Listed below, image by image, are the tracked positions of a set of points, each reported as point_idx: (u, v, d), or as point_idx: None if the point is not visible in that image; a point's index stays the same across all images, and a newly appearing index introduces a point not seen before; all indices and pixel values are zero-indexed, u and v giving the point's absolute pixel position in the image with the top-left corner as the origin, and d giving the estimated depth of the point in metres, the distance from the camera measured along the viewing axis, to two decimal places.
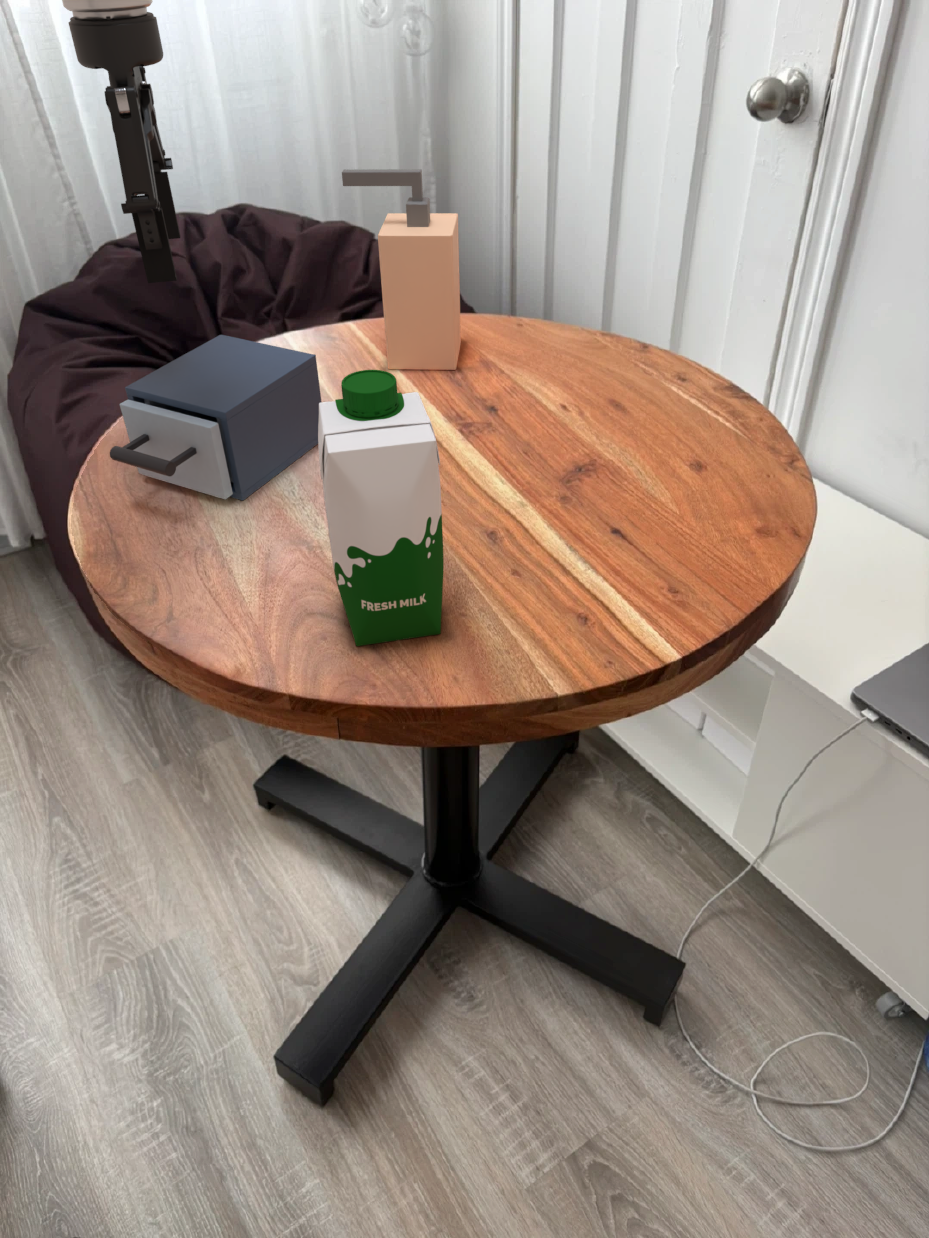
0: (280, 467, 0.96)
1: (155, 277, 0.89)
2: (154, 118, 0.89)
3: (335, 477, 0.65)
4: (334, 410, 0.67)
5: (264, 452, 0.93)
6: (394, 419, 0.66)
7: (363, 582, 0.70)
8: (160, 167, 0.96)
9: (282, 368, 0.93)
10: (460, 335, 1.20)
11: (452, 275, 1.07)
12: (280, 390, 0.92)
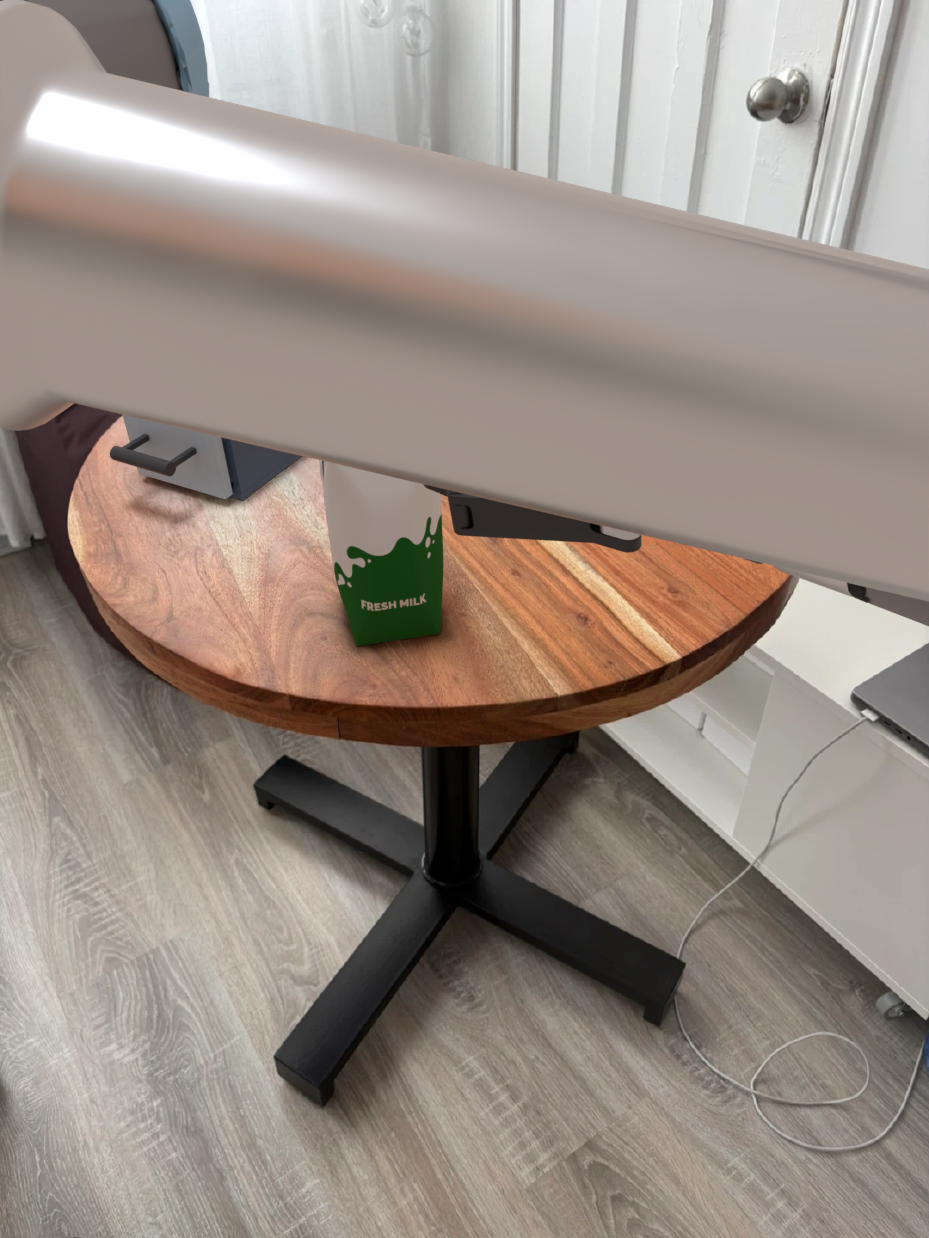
0: (280, 467, 0.96)
1: None
2: None
3: (335, 477, 0.65)
4: None
5: (264, 452, 0.93)
6: None
7: (363, 582, 0.70)
8: None
9: None
10: None
11: None
12: None
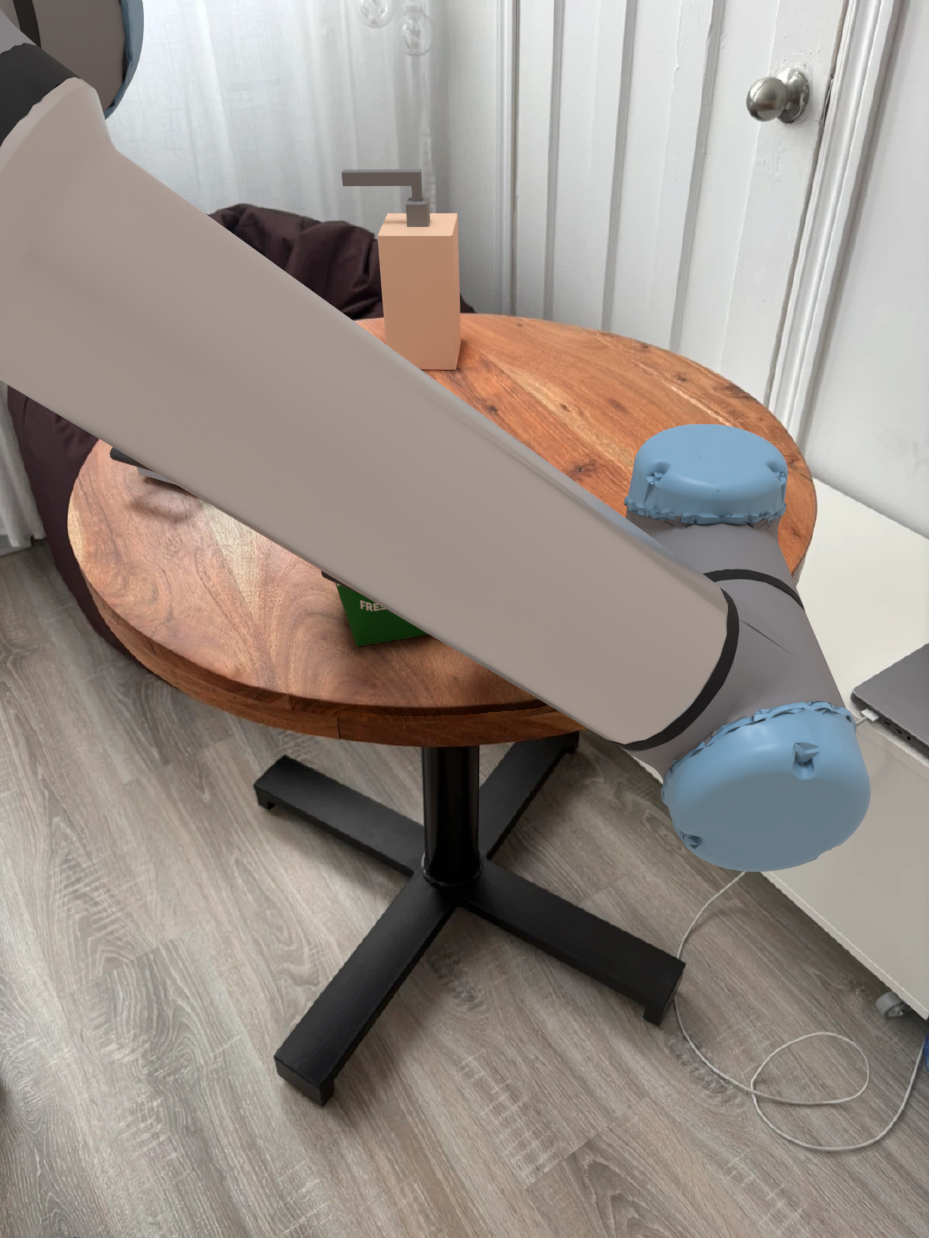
0: None
1: None
2: None
3: None
4: None
5: None
6: None
7: None
8: None
9: None
10: (460, 335, 1.20)
11: (452, 275, 1.07)
12: None
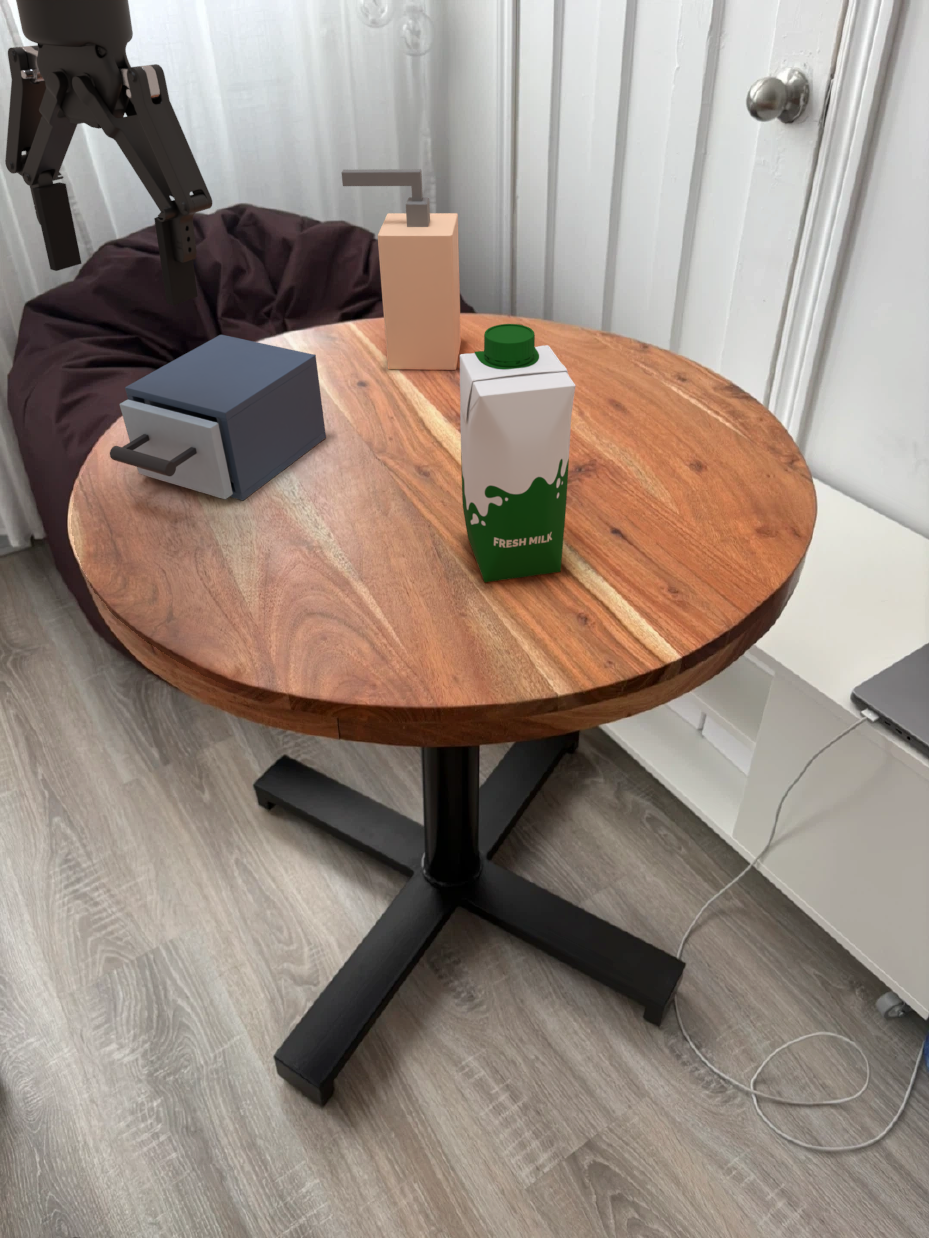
0: (280, 467, 0.96)
1: (180, 296, 0.74)
2: None
3: (482, 420, 0.71)
4: (475, 361, 0.74)
5: (264, 452, 0.93)
6: (533, 368, 0.72)
7: (498, 519, 0.76)
8: (52, 177, 0.77)
9: (282, 368, 0.93)
10: (460, 335, 1.20)
11: (452, 275, 1.07)
12: (280, 390, 0.92)
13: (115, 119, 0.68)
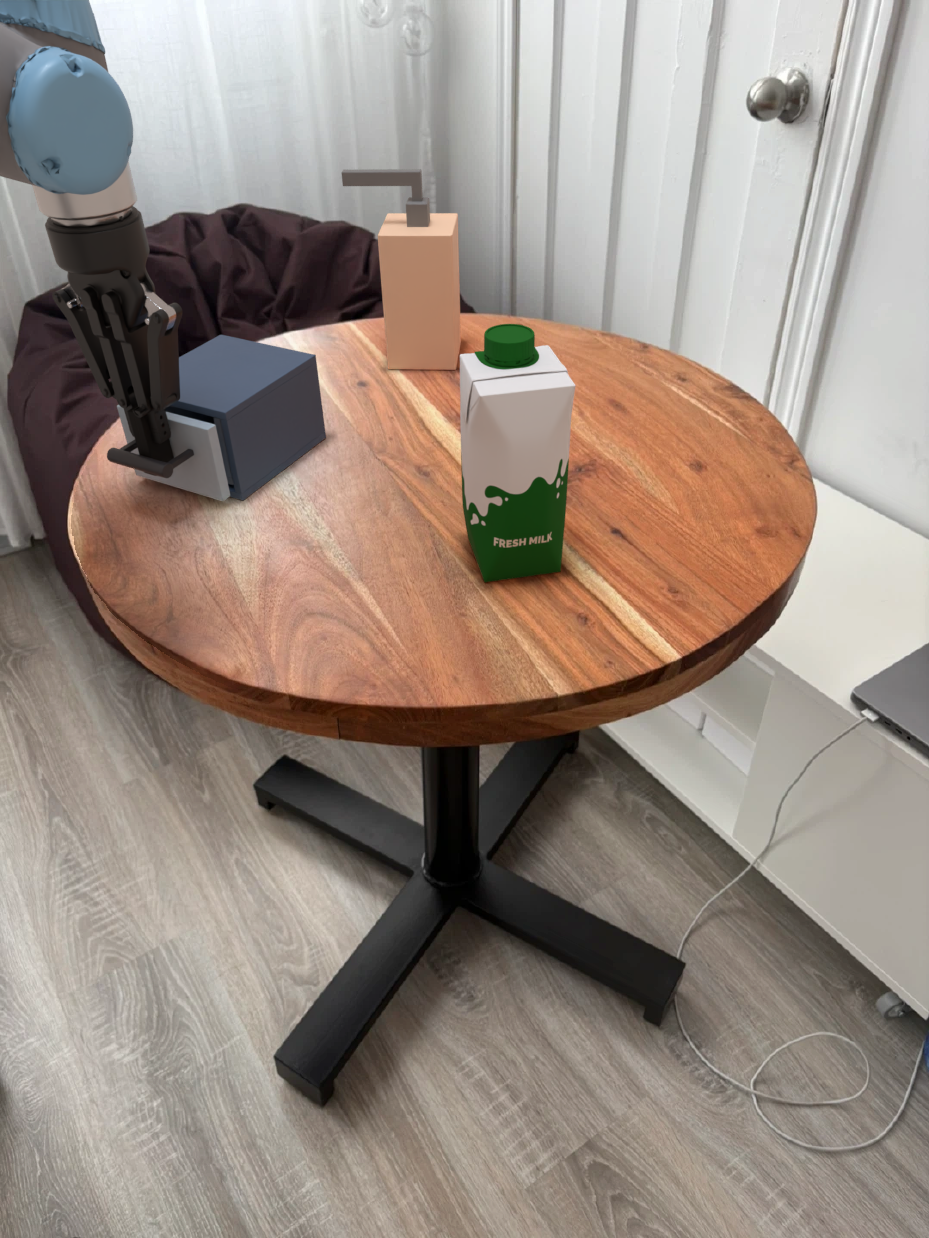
0: (280, 467, 0.96)
1: None
2: None
3: (482, 420, 0.71)
4: (475, 361, 0.74)
5: (264, 452, 0.93)
6: (533, 368, 0.72)
7: (498, 519, 0.76)
8: None
9: (282, 368, 0.93)
10: (460, 335, 1.20)
11: (452, 275, 1.07)
12: (280, 390, 0.92)
13: (128, 334, 0.79)
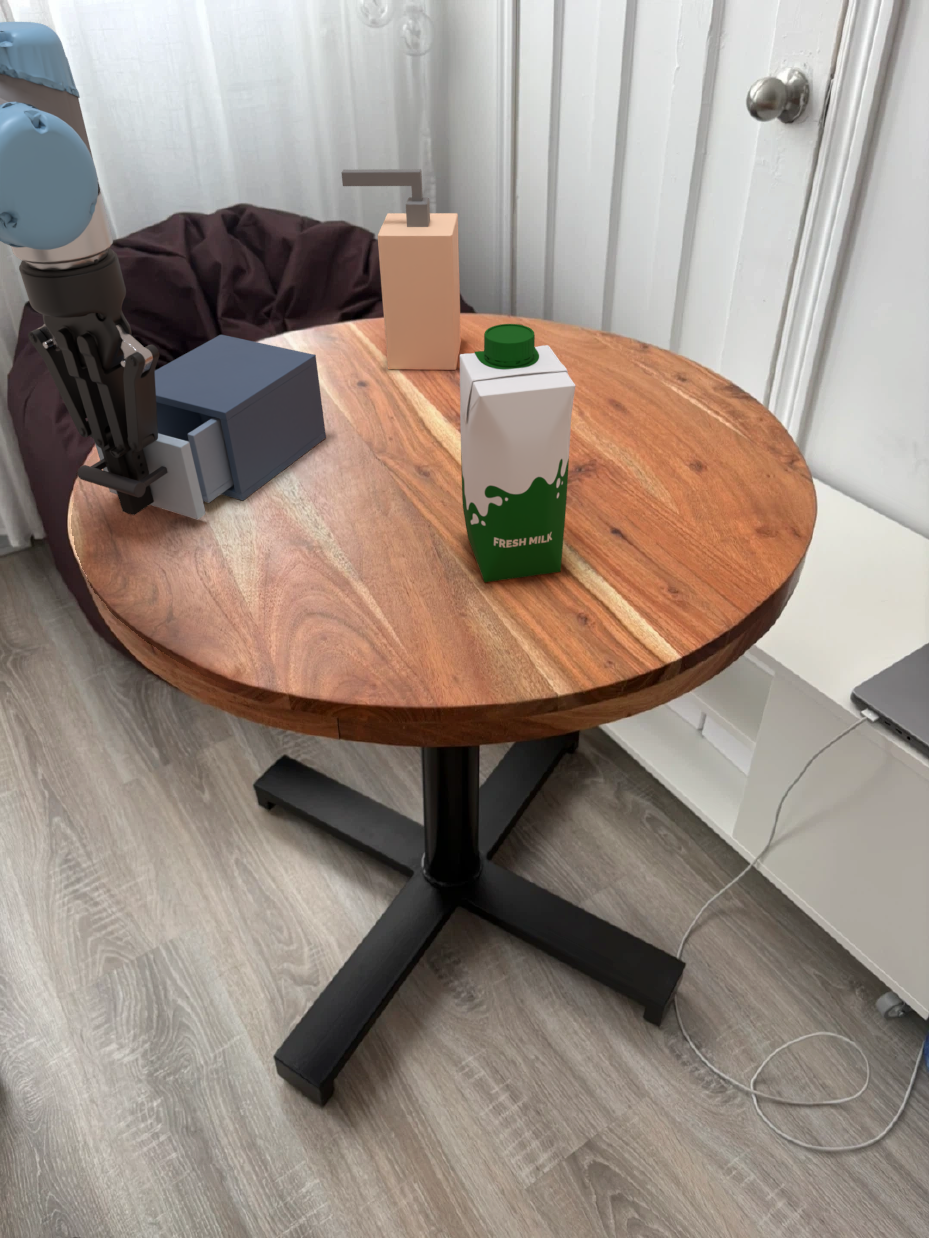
0: (280, 467, 0.96)
1: (138, 506, 0.87)
2: None
3: (482, 420, 0.71)
4: (475, 361, 0.74)
5: (264, 452, 0.93)
6: (533, 368, 0.72)
7: (498, 519, 0.76)
8: None
9: (282, 368, 0.93)
10: (460, 335, 1.20)
11: (452, 275, 1.07)
12: (280, 390, 0.92)
13: (105, 376, 0.78)
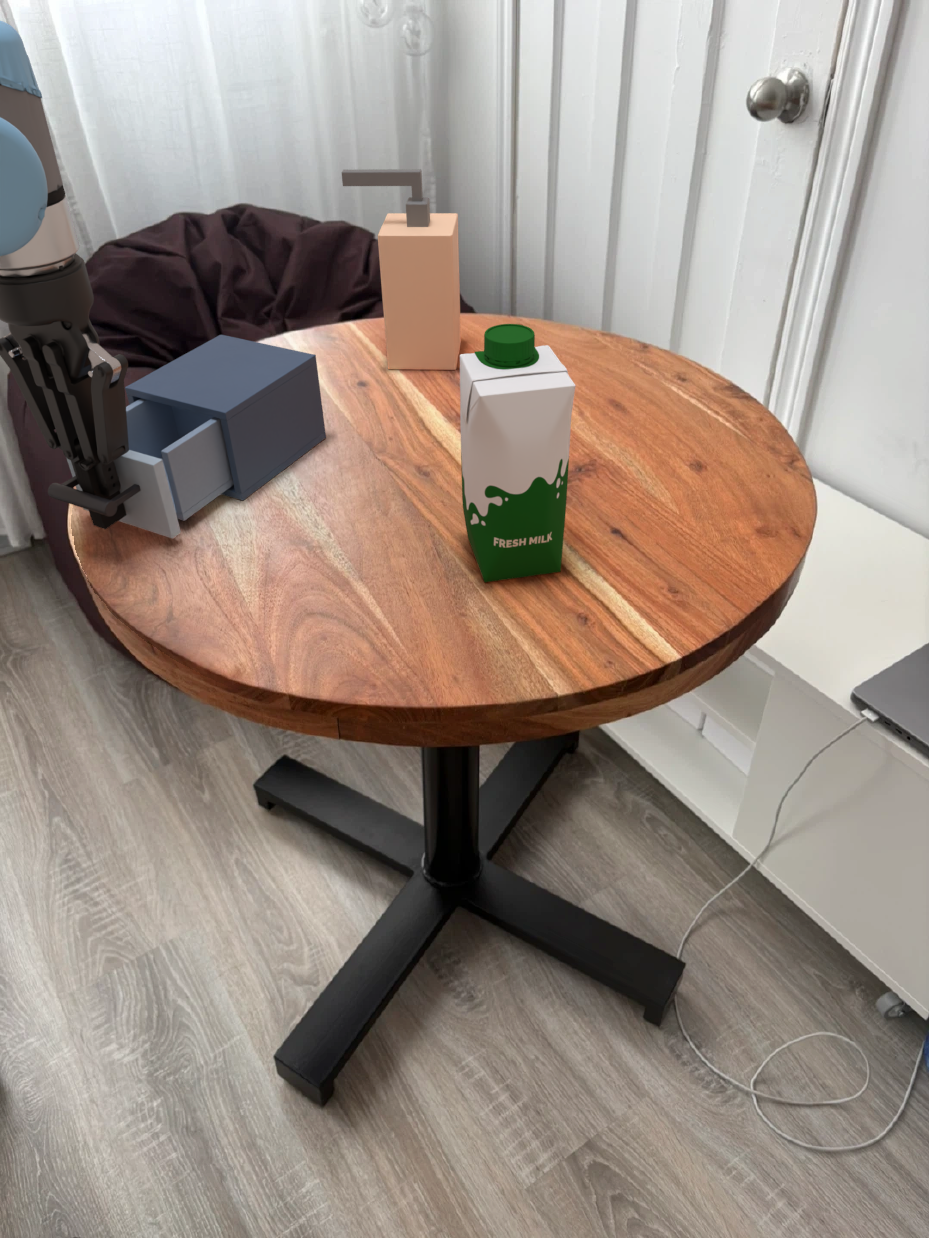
0: (280, 467, 0.96)
1: (110, 520, 0.85)
2: None
3: (482, 420, 0.71)
4: (475, 361, 0.74)
5: (264, 452, 0.93)
6: (533, 368, 0.72)
7: (498, 519, 0.76)
8: None
9: (282, 368, 0.93)
10: (460, 335, 1.20)
11: (452, 275, 1.07)
12: (280, 390, 0.92)
13: (72, 386, 0.75)
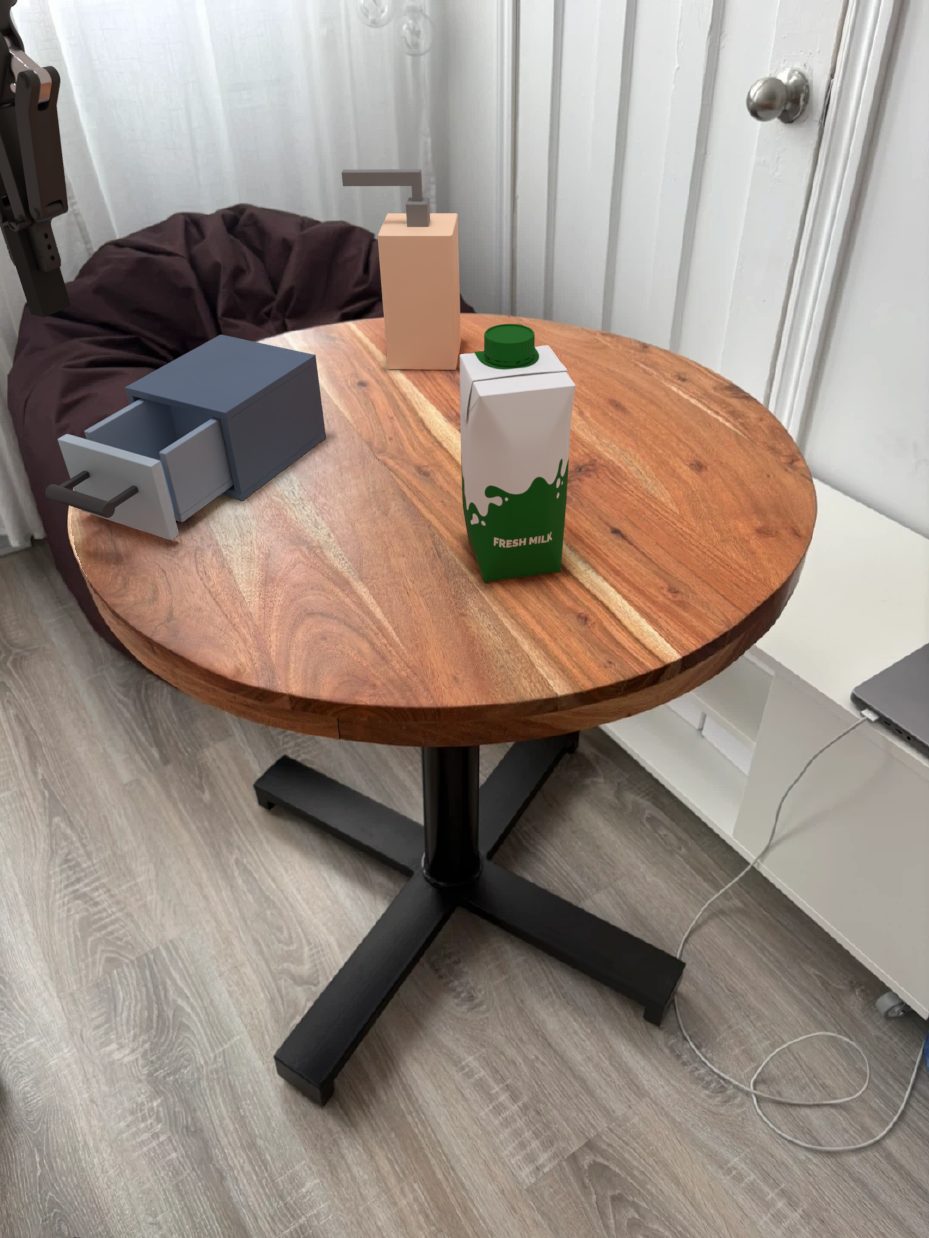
0: (280, 467, 0.96)
1: (50, 307, 0.71)
2: None
3: (482, 420, 0.71)
4: (475, 361, 0.74)
5: (264, 452, 0.93)
6: (533, 368, 0.72)
7: (498, 519, 0.76)
8: None
9: (282, 368, 0.93)
10: (460, 335, 1.20)
11: (452, 275, 1.07)
12: (280, 390, 0.92)
13: None
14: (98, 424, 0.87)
